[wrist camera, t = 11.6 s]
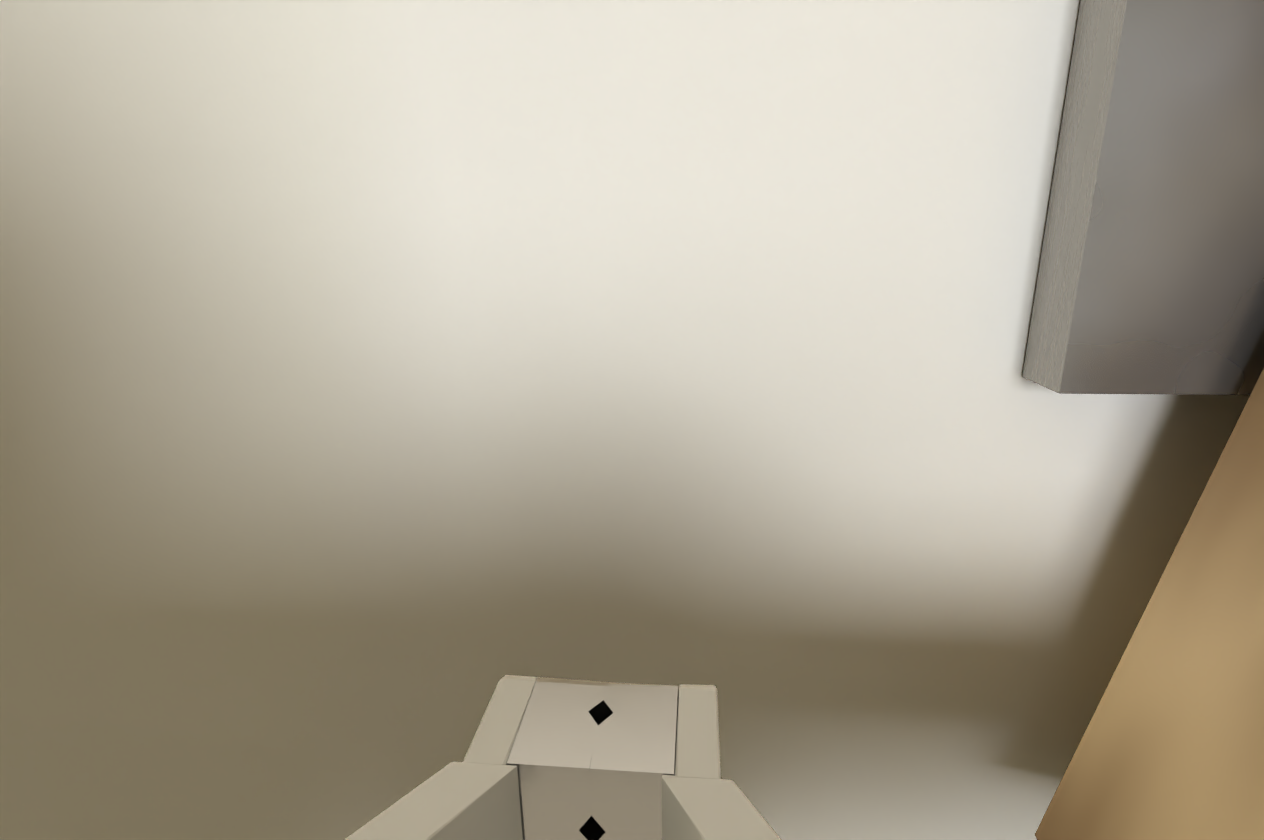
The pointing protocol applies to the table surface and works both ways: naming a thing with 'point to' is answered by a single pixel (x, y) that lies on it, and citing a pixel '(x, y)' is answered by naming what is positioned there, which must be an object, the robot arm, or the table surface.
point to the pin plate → (1156, 205)
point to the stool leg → (1186, 682)
